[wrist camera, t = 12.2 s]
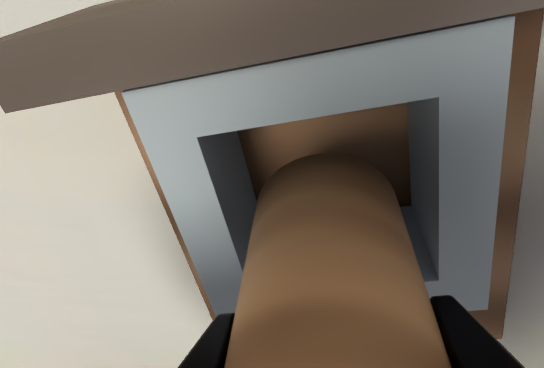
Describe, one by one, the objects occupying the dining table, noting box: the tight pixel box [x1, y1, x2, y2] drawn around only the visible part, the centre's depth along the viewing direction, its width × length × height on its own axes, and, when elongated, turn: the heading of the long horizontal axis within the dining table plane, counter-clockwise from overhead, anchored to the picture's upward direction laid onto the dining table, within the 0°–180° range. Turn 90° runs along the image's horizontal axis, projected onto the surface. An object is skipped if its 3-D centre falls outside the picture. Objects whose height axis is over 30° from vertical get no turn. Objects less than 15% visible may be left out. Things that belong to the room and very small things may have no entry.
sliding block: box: [121, 14, 515, 316], centre depth 13 cm, size 9×9×4 cm
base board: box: [0, 0, 544, 339], centre depth 15 cm, size 18×14×6 cm
